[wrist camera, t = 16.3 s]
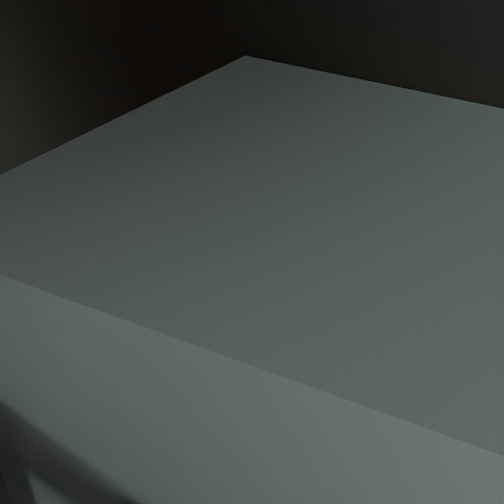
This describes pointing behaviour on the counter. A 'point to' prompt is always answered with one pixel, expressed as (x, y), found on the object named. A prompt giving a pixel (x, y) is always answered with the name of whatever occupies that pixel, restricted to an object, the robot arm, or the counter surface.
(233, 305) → the grey rectangular block
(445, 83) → the counter surface
